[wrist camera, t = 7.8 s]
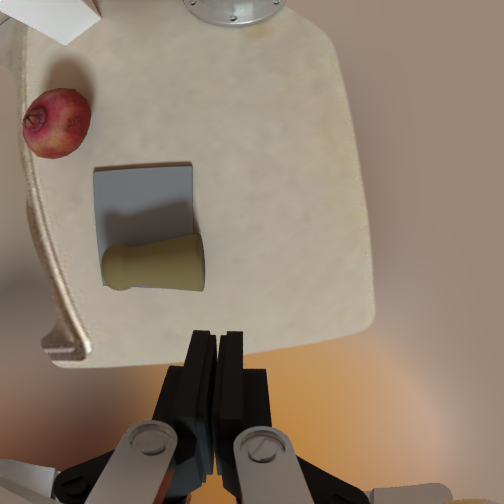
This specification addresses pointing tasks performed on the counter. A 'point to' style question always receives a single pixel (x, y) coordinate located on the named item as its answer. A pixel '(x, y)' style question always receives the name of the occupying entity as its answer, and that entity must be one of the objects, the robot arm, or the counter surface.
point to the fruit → (56, 123)
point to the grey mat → (142, 206)
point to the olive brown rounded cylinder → (156, 265)
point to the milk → (54, 16)
